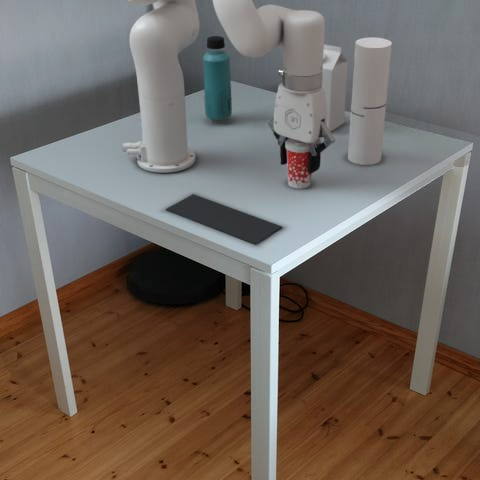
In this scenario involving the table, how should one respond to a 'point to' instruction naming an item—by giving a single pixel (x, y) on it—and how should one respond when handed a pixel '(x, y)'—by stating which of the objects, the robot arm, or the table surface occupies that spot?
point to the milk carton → (334, 85)
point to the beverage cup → (298, 163)
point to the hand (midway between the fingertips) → (299, 166)
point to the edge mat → (224, 219)
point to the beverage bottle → (217, 80)
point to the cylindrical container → (369, 100)
